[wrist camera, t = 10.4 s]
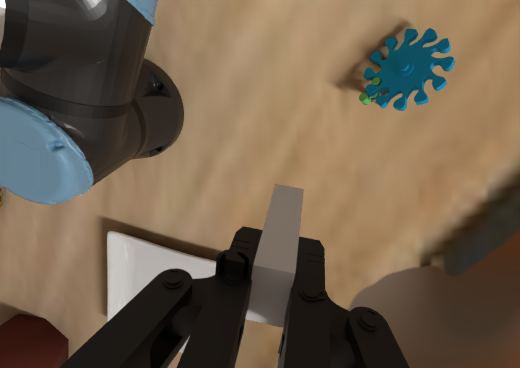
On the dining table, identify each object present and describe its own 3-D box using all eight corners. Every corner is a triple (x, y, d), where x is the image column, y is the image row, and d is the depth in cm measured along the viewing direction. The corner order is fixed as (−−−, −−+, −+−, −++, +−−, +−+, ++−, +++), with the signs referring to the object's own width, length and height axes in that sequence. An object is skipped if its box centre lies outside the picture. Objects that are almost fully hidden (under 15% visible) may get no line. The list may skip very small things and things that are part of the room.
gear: (429, 7, 38) (469, 72, 34) (439, 35, 42) (476, 96, 38) (343, 64, 43) (369, 126, 39) (360, 83, 48) (385, 141, 44)
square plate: (115, 317, 75) (105, 331, 71) (117, 219, 62) (105, 230, 59) (229, 353, 73) (224, 369, 69) (254, 259, 60) (250, 273, 57)
